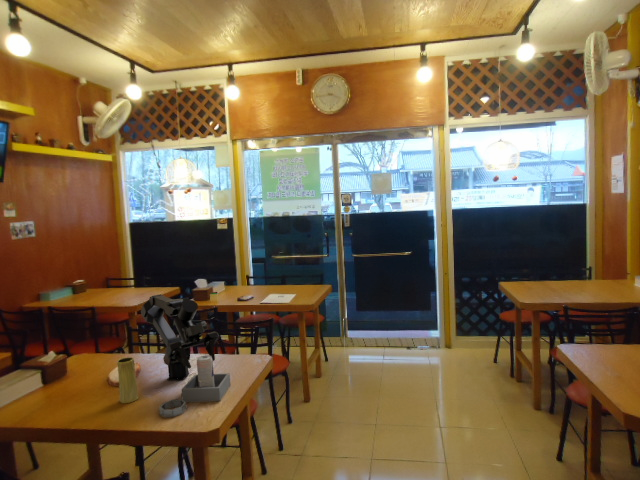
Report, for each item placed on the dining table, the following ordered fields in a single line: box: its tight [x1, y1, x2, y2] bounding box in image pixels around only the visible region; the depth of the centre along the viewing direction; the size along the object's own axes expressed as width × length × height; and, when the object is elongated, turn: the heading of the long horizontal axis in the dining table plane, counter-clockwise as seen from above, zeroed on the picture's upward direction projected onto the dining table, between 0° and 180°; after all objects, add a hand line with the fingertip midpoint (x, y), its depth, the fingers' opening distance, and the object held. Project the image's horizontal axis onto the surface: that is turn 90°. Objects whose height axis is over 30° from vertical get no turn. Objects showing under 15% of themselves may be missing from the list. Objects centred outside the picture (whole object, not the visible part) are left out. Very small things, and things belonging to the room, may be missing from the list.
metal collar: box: [158, 398, 188, 418], centre depth 138 cm, size 8×8×2 cm
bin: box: [180, 372, 232, 403], centre depth 151 cm, size 13×13×4 cm
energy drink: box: [196, 354, 215, 388], centre depth 150 cm, size 5×5×12 cm
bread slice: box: [107, 362, 142, 387], centre depth 172 cm, size 18×18×4 cm
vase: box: [116, 356, 140, 404], centre depth 149 cm, size 6×6×14 cm
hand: (202, 364), depth 151 cm, fingers open, 9 cm apart
